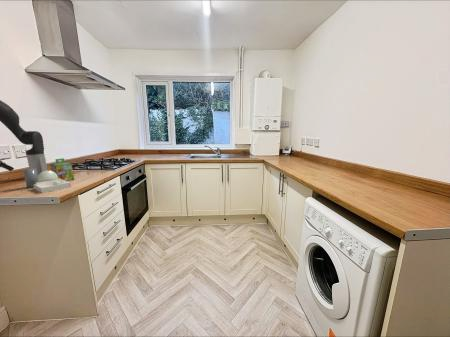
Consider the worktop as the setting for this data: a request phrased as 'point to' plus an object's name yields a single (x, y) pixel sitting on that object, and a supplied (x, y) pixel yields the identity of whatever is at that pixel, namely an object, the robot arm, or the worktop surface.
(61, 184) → the white divided tray
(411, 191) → the worktop surface
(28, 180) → the grey domed cylinder
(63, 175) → the chalk box
